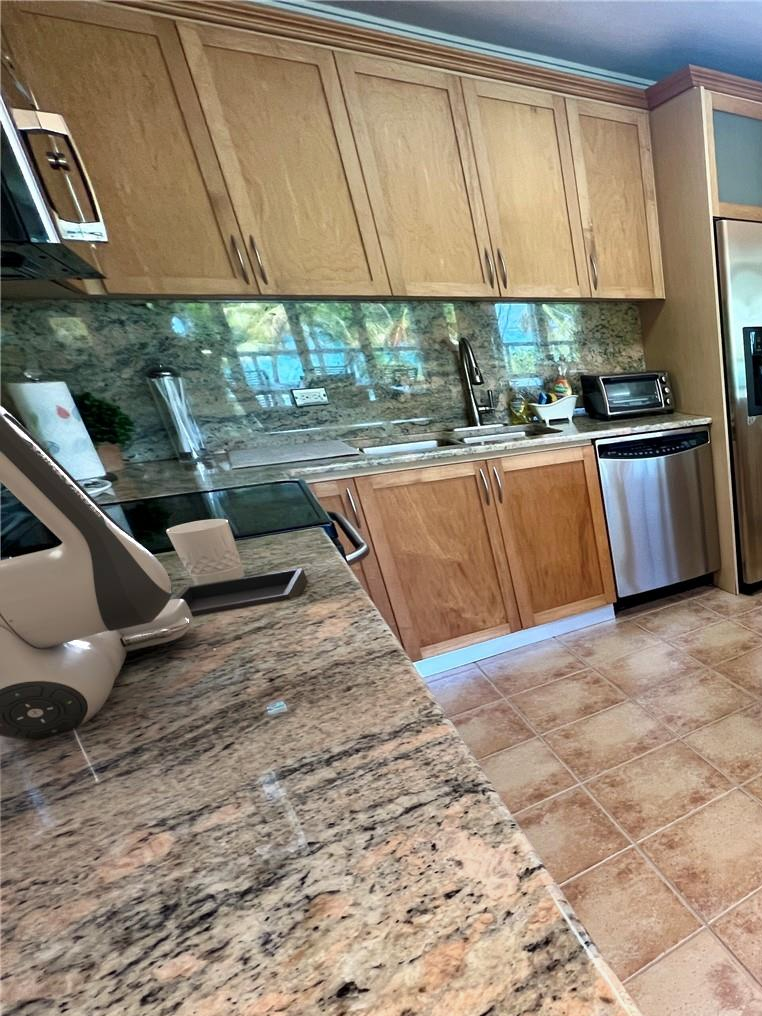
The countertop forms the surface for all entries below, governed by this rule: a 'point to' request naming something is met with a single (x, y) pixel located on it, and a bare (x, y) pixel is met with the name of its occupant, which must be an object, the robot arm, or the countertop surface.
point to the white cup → (207, 550)
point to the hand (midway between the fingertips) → (93, 617)
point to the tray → (243, 592)
